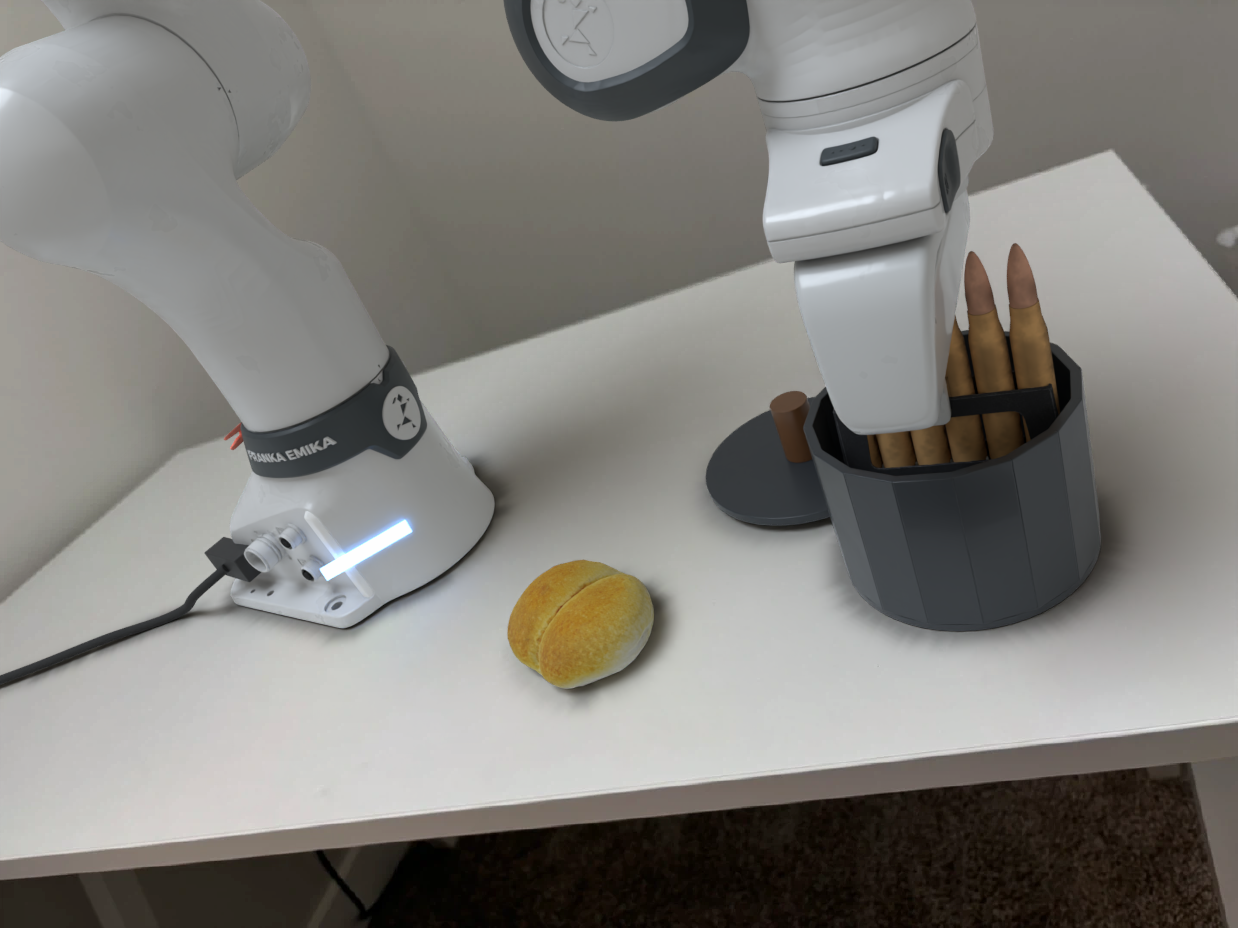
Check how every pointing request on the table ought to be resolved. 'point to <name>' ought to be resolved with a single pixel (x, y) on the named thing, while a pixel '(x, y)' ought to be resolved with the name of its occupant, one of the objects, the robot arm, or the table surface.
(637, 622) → the bread roll
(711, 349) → the table surface
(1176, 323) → the table surface
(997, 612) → the pot
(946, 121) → the robot arm
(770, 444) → the lid
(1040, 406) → the ammunition clip
